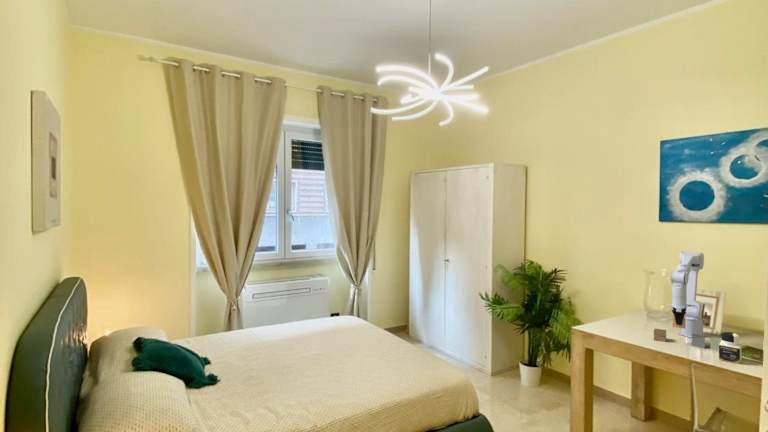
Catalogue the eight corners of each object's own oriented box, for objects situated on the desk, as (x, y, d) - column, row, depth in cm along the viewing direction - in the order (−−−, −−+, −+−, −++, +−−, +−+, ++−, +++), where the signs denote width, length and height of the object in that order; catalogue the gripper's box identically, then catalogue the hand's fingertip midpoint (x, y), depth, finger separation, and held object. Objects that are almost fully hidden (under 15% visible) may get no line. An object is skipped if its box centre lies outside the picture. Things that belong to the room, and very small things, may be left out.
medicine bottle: (718, 360, 182) (718, 333, 182) (720, 355, 188) (721, 329, 187) (739, 364, 177) (740, 336, 177) (741, 359, 182) (741, 333, 182)
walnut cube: (654, 337, 214) (654, 328, 214) (666, 339, 211) (666, 330, 211) (653, 340, 210) (653, 330, 210) (665, 342, 207) (665, 332, 207)
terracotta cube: (673, 324, 207) (673, 314, 206) (685, 326, 204) (685, 316, 203) (672, 327, 203) (672, 317, 203) (685, 328, 200) (685, 318, 199)
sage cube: (710, 347, 199) (710, 336, 199) (723, 349, 196) (723, 338, 196) (710, 349, 195) (710, 339, 195) (724, 352, 192) (724, 341, 192)
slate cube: (692, 343, 204) (692, 333, 204) (704, 345, 201) (704, 335, 201) (691, 346, 200) (691, 336, 200) (704, 348, 197) (704, 338, 197)
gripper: (670, 292, 211) (670, 318, 211) (668, 297, 199) (668, 325, 200) (687, 294, 207) (687, 321, 207) (686, 299, 195) (686, 328, 195)
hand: (679, 323), depth 203 cm, fingers closed on terracotta cube, 5 cm apart
